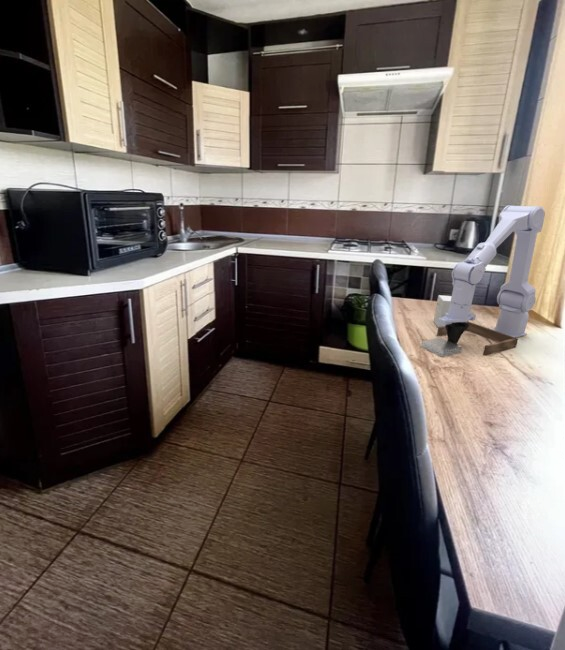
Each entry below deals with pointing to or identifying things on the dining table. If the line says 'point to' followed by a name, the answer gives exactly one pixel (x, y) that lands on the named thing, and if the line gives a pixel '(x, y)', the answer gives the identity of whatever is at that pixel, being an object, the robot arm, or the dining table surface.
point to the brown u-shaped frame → (502, 339)
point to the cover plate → (441, 347)
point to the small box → (442, 308)
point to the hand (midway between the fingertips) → (452, 344)
